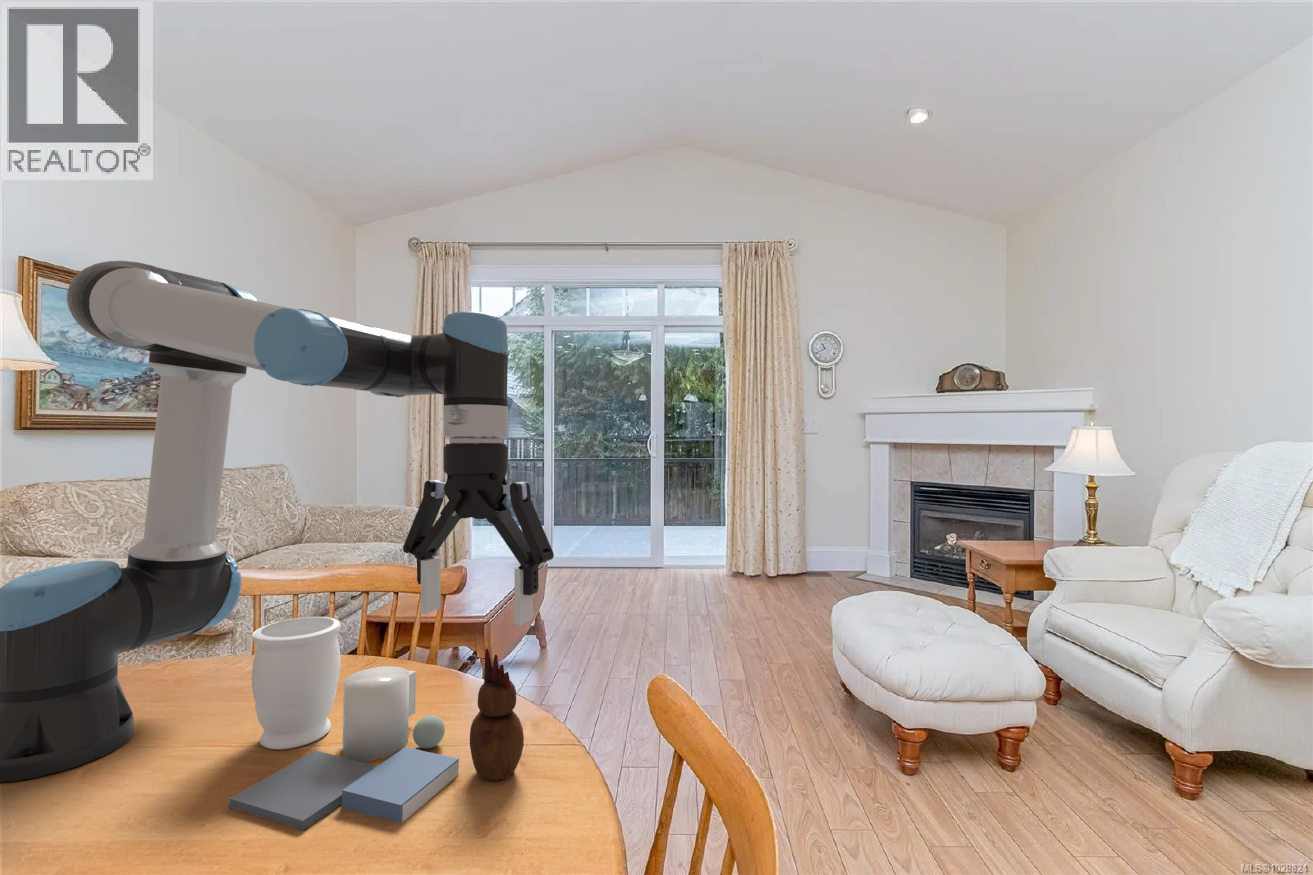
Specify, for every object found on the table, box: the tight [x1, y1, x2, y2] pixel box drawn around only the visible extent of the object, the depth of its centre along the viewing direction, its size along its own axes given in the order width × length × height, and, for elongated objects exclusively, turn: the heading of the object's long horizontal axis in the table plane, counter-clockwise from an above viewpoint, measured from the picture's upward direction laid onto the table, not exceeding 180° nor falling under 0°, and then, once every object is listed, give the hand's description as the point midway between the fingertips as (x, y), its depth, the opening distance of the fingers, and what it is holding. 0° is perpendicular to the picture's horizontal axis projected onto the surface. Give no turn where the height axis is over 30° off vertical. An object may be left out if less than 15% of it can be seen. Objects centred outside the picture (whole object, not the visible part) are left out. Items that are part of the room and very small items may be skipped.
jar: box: [251, 616, 342, 750], centre depth 82 cm, size 11×10×15 cm
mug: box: [342, 665, 417, 762], centre depth 82 cm, size 8×11×9 cm
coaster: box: [228, 749, 378, 831], centre depth 70 cm, size 11×11×1 cm
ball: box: [412, 715, 446, 750], centre depth 80 cm, size 4×4×4 cm
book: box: [341, 746, 460, 824], centre depth 70 cm, size 8×10×2 cm
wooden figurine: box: [469, 648, 525, 782], centre depth 74 cm, size 7×6×15 cm
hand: (475, 616), depth 72 cm, fingers open, 13 cm apart
